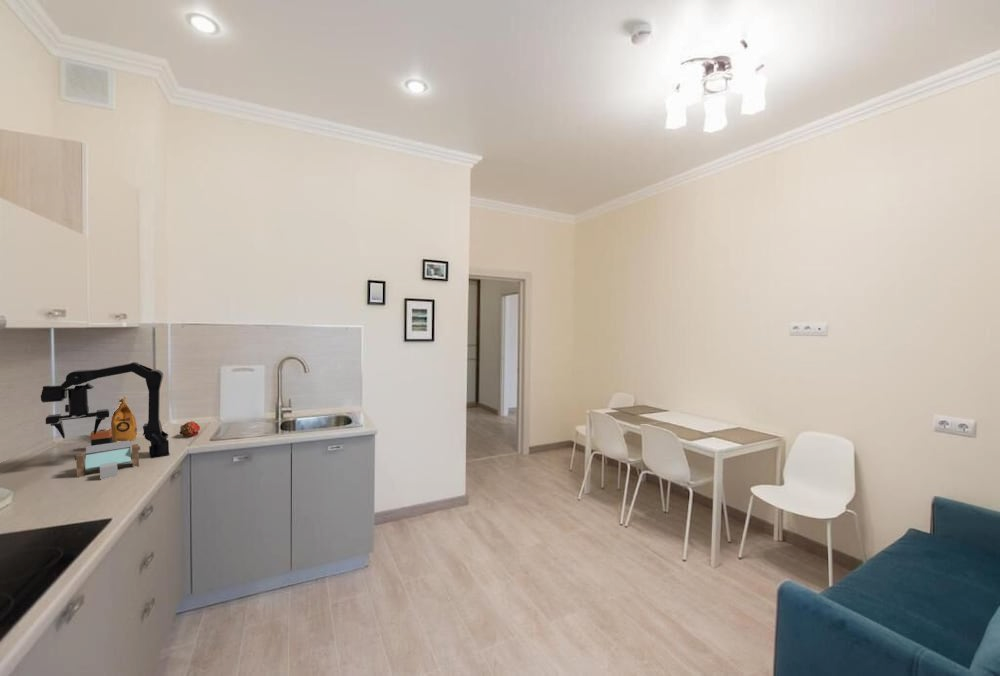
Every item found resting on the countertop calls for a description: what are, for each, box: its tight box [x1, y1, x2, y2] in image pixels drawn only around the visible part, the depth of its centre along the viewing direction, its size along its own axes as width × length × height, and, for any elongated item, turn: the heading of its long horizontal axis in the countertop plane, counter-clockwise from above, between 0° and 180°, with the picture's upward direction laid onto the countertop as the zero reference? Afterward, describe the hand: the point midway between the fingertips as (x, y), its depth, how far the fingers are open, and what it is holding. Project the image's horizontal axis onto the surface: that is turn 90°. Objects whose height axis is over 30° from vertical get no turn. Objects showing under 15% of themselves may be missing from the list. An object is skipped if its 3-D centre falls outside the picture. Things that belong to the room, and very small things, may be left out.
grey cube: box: [99, 462, 119, 480], centre depth 165 cm, size 5×5×5 cm
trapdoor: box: [85, 440, 132, 471], centre depth 173 cm, size 14×11×3 cm
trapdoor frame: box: [74, 443, 141, 478], centre depth 172 cm, size 20×5×8 cm, turn 133°
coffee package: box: [110, 396, 138, 442], centre depth 213 cm, size 10×12×22 cm
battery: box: [90, 427, 113, 446], centre depth 197 cm, size 4×7×10 cm, turn 123°
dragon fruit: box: [178, 420, 201, 438], centre depth 221 cm, size 8×8×12 cm
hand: (79, 436), depth 175 cm, fingers open, 9 cm apart
